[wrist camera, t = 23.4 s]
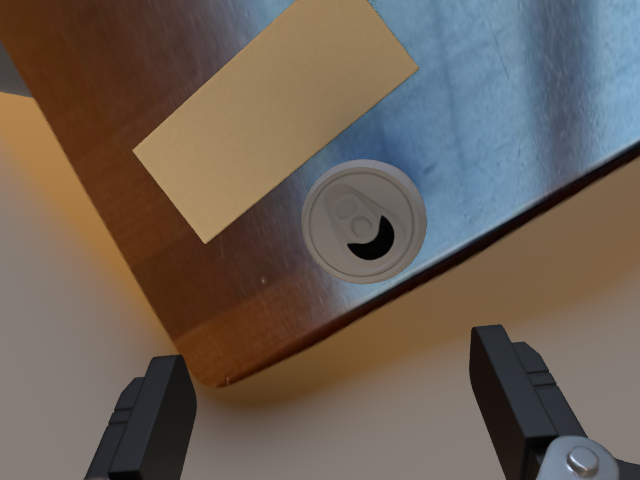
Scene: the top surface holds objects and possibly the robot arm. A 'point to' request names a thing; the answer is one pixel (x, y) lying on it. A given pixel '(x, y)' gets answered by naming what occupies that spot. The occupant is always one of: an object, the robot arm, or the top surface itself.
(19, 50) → the top surface
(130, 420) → the robot arm
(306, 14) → the board
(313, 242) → the beverage can
